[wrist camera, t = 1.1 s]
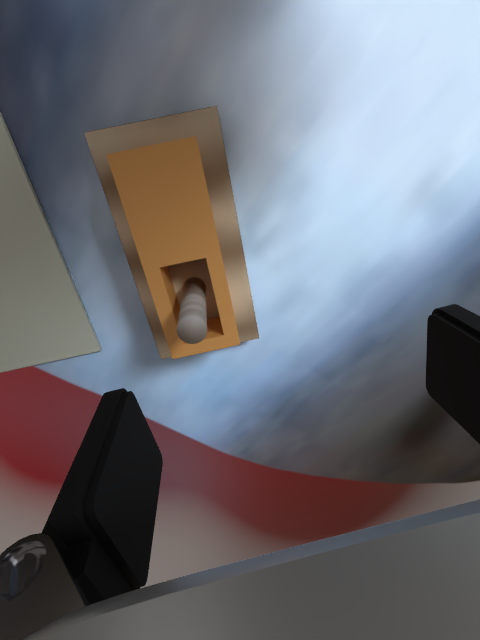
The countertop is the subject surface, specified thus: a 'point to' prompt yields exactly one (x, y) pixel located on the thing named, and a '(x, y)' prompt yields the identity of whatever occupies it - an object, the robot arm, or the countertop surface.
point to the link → (174, 232)
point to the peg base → (195, 275)
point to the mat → (34, 277)
